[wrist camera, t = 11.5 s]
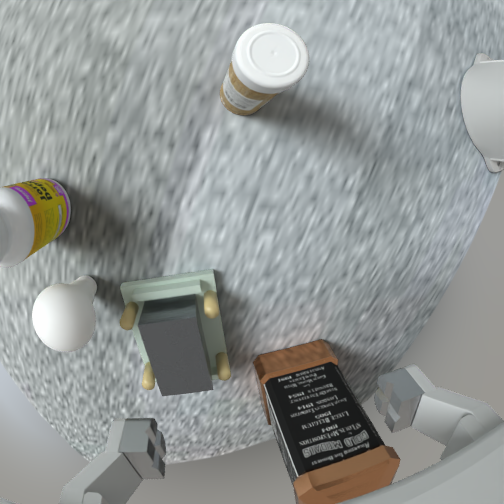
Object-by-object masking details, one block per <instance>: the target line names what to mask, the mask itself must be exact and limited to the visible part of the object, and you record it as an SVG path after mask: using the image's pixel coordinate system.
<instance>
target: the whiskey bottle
mask: <svg viewBox="0 0 504 504" xmlns="http://www.w3.org/2000/svg"><path fill="white" fill-rule="evenodd" d="M253 364H254V369H255V374H256V379H257V384H258V389H259V394H260V399H261V404H262V408H263V411H264V414H265V416H266V419H267V422H268V425H271V426H272V428H273V431H274V434H275V437H276V440H277V443H278V445H279V448H280V451H281V454H282V457H283V460H284V462H285V465H286V468H287V471H288V473H289V476H290V479H291V482H292V484H293V487H294V493H295V500H296V504H337V503H340V502H343V501H346V500H350V499H353V498H356V497H359V496H361V495H364V494H367V493H370V492H373V491H375V490H378V489H380V488H383V487H385V486H388V485H390V484H392V481H393V479H394V477H395V474H396V472H397V469H398V467H399V463H400V458H399V457H398V455H397V453H396V452H395V450H394V449H393V447H389V446H385V444H384V442H383V441H382V439H381V438H380V436H379V434H378V432H377V431H376V429H375V427H374V426H373V424H372V422H371V421H370V419H369V417H368V416H367V414H366V412H365V411H364V409H363V407H362V406H361V404H360V402H359V401H358V399H357V397H356V396H355V394H354V392H353V391H352V389H351V387H350V386H349V384H348V382H347V381H346V379H345V377H344V376H343V374H342V372H341V371H340V369H339V367H338V359H337V357H336V356H335V354H334V352H333V351H332V349H331V347H330V345H329V344H328V343H327V342H325V341H324V340H322V339H321V340H317V341H313V342H310V343H306V344H302V345H298V346H295V347H291V348H287V349H283V350H279V351H275V352H270V353H266V354H262V355H259V356H258V357H257V358H256V359H255V361H254V362H253Z"/></svg>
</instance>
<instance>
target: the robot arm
mask: <svg viewBox="0 0 504 504" xmlns="http://www.w3.org/2000/svg"><path fill="white" fill-rule="evenodd" d="M461 107H462V113H463V118H464V122H465V125H466V128H467V131H468V133H469V135H470V138H471V139H472V141H473V143H474V145H475V146H476V147H477V149H478V150H479V151H480V152H481V154H482V155H483V157H484V159H485V162H486V165H487V167H488V169H489V171H490V172H499V171H501V170H504V60H495V61H494V60H492V59H491V58H490V57H488V56H487V55H485V54H484V53H478V54H477V55H476V58H475V61H474V64H473V66H472V67H471V68H469V69H468V70H467V72H466V73H465V75H464V77H463V81H462V85H461ZM377 384H378V386H379V388H378V389H377V390H376V391H375V397H374V399H375V405H376V407H377V410H378V411H379V413H380V414H382V415H384V416H386V418H385V423H386V424H387V426H388V428H389V429H390V430H391V432H392V433H394V432H397V431H399V430H402V429H405V428H407V427H409V426H411V427H412V428H414V429H416V430H418V431H420V432H421V433H423V434H425V435H427V436H429V437H430V438H432V439H434V440H436V441H438V442H440V443H442V444H444V445H445V446H446V448H445V450H444V451H443V453H442V455H441V458H440V459H441V461H440V462H438V463H436V464H434V465H432V466H430V467H428V468H426V469H424V470H422V471H420V472H418V473H415V474H413V475H411V476H409V477H407V478H404V479H402V480H400V481H398V482H395V483H393V484H390V485H388V486H385V487H383V488H380V489H378V490H375V491H373V492H370V493H367V494H364V495H361V496H359V497H356V498H353V499H350V500H346V501H343V502H340V503H337V504H504V421H503V420H502V418H501V417H500V416H499V415H498V414H497V413H496V412H495V411H494V410H493V409H492V408H491V406H490V405H489V404H488V403H486V402H483V401H481V400H477V399H474V398H471V397H468V396H465V395H462V394H459V393H456V392H453V391H450V390H447V389H444V388H441V387H438V388H436V387H435V386H434V385H433V384H432V382H431V381H430V380H429V379H428V378H427V377H426V376H425V375H424V373H423V372H422V371H421V370H420V369H419V368H418V366H417V365H415V364H411V365H408V366H406V367H403V368H400V369H397V370H394V371H391V372H388V373H386V374H383V375H380V376H379V377H378V380H377ZM165 455H166V446H165V440H164V437H163V434H162V432H161V431H159V430H157V423H156V421H155V419H154V418H127V419H114V420H113V421H112V424H111V428H110V432H109V436H108V440H107V445H106V449H105V452H101V453H100V454H99V455H98V456H97V457H95V458H94V459H93V460H92V461H91V462H90V463H89V464H88V465H87V466H86V467H85V468H84V469H83V470H81V471H80V472H79V473H78V474H77V475H76V476H75V477H74V478H73V479H72V480H71V481H69V482H68V483H67V484H66V485H65V486H64V487H63V490H62V494H61V498H60V502H59V504H126V502H127V501H128V500H129V498H130V497H131V495H132V494H133V493H134V491H135V490H136V489H137V487H138V486H139V485H140V483H141V482H142V479H164V473H165V464H164V462H163V460H162V458H163V457H164V456H165ZM0 504H19V503H16V502H13V501H10V500H7V499H4V498H1V497H0Z"/></svg>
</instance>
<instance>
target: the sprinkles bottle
mask: <svg viewBox="0 0 504 504" xmlns="http://www.w3.org/2000/svg"><path fill="white" fill-rule="evenodd" d="M308 66H309V52H308V49H307V46H306V44H305V43H304V41H303V40H302V38H301V37H300V36H299V35H298V34H297V33H296V32H294V31H293V30H291V29H290V28H288V27H285V26H283V25H279V24H274V23H264V24H259V25H255V26H253V27H251V28H249V29H248V30H246V31H245V32H244V33H243V34H242V35H241V37H240V38H239V39H238V41H237V44H236V46H235V48H234V51H233V55H232V61H231V63H230V66H229V68H228V71H227V74H226V76H225V79H224V82H223V84H222V86H221V89H220V98H221V101H222V103H223V105H224V106H225V107H226V108H227V109H228V110H229V111H231V112H232V113H235V114H238V115H249V114H252V113H254V112H256V111H258V110H259V108H260V107H262V106H263V105H265V104H266V103H268V102H269V101H270V100H271V99H273V97H274V96H276V95H277V94H278V93H280V92H283V91H286V90H288V89H289V88H291V87H292V86H294V85H295V84H296V83H297V82H299V81H300V80H301V79H302V77H303V76H304V75H305V73H306V71H307V69H308Z"/></svg>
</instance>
